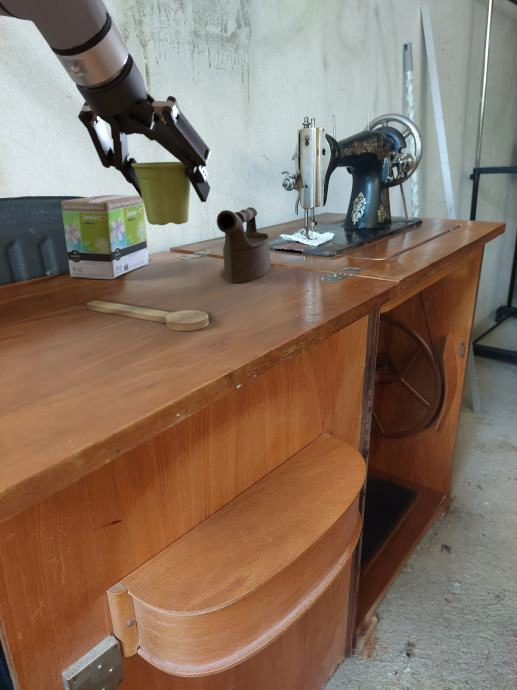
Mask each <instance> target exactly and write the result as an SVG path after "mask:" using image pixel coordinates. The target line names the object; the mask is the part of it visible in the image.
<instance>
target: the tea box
mask: <svg viewBox="0 0 517 690" xmlns="http://www.w3.org/2000/svg"><path fill="white" fill-rule="evenodd" d="M60 204H61V213H62V221H63V229H64V237H65V245H66V252H67V258H68V259H67V261H68V267H69V275H70V277H71V278H80V279H97V280H114V279H116V278H117V277H120V276H121V275H124V274H125V273H129V272H131V271H134V270H136V269H138V268H141V267H144V266H146V265H148V264H149V251H148V237H147V229H146V228H147V227H146V226H147V225H146V218H145V216H146V214H145V207H144V203H143V199H142V198H141V197H140V195H139V194H137V195H136V194H135V195H134V194H101V195H95V196H94V195H93V196H87V197H80V198H74V199H66V200H61V201H60Z"/></svg>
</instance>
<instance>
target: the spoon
mask: <svg viewBox="0 0 517 690" xmlns="http://www.w3.org/2000/svg"><path fill="white" fill-rule="evenodd" d="M85 305H86V310H89V311H94V312H100V313H106V314H111V315H117V316H122V317H127V318H133V319H140V320H144V321H145V320H146V321H149V322H150V321H151V322H157V323H162V324H165V325H166V328H167V329H168V330H172V331H175V332H192V331H198V330H201V329H204V328H206V327H208V325H209V324H210V322H209V321H210V320H209V313H207V312H206V311H204V310H198V309H197V310H195V309H187V310H178V311H174V312H172V311H167V310H159V309H154V308H147V307H142V306H141V307H140V306H135V305H129V304H124V303H123V304H122V303H116V302H112V301H111V302H110V301H103V300H98V299H95V300H92V301H90V302H86V303H85Z"/></svg>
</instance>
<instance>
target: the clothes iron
mask: <svg viewBox="0 0 517 690" xmlns="http://www.w3.org/2000/svg"><path fill="white" fill-rule="evenodd" d="M257 215H258V211H257V209H256V208H254V207H251V206H249V207H247V208H244V209H241V210H239V211H235V212H233V211H231V210H228V209H225V210H224V209H223V210H221V211H220V212H219V213H218V214H217V217H216V225H217V228H218V229H219V231H220V232H222V233H224V245H223V247H222V255H223V269H224V272H223V273H224V280H225V281H227V282H228V283H231V284H238V283H245V282H248V281H252V280H256V279H258V278H260V277H262V276H264V275H266V274H267V273H268V272H269V271H270V270H271V250H270V249H271V248H270V247H271V246H270V235H269V234H268V233H264V232H258V230H257V222H256V221H257V220H256V217H257ZM244 223H246V224H245V226H246V227H245V226H244Z"/></svg>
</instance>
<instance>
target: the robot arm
mask: <svg viewBox="0 0 517 690" xmlns="http://www.w3.org/2000/svg"><path fill="white" fill-rule="evenodd" d="M0 17H6V18H7V17H8V18H14V19H17V20H22V21H29V22H32V24H33V25H34V26H35V27H36V29H37V30H38V32H39V33H40V35H41V37H43V39H44V41H45V42H46V44H47V45H48V47H49V48H50V49H51V51H52V52H53V53H54V55H55V57H56V58H57V61H59V62H60V64H61V66H62V67H63V69H64V70H65V73H67V74H68V76H69V78H70V79H71V81H72V82H73V83H75V87H76V89H77V91H78V92H79V93H80V95H81V96H82V98H83V100H84V103H83V105H82V107H81V108H80V110H79V114H78V116H77V118H78V120H79V121H80V122H81V123H82V124H83V126H84V127H85V128H86V130H87V133H88V135H89V137H90V140H91V141H92V144H93V146H94V149H95V151H96V153H97V156H98V158H99V161H100V163H101V165H102V166H103V167H104V168H106V169H110V168H111V167H113V168H114V169H115V170H116V171H118V172H120V173H121V175H122V176H123V177H124V179H125V180H126V182H127V183H128V184H131V185H132V187H133V188H134V189H135V191H136V192H137V193H138V194H137V195H138V196H140V197H141V198H142V194H141V189H140V185H139V181H138V178H137V177H136V174H135V170H134V167H132V166H131V164H134V163H138V162H137V160H136V159H135V157H129V156H130V152H129V149H128V147H129V145H128V136H131V135H134V134H137V135H143V136H144V137H146V138H147V139H148V140H149V141H152V142H153V141H155V142H156V143H158V145H160V146H161V147H162V148H163V149H165V150H166V151H167V152H168V153H169V154H170V155H172V156H173V157H174V158H175V159H177V161H178V162H182V163H183V164H184V165H185V166H186V167H187V168H186V171H185V173H186V174H187V176H188V178H189V180H190V182H191V185H192V188H193V189H194V191H195V194H196V195H197V196H198V199H199V200H200V202H201V203H206V202H207V199H208V197H209V194H210V190H211V186H210V184H209V182H208V179H207V178H208V176H209V175H208V174H209V173H208V171H207V170H206V166H207V164H208V161H209V159H210V156H211V153H212V151H211V148H210V147H209V146H208V144H207V143H206V142H205V141H204V140H203V138H202V136H201V135H200V134H199V133H198V132H197V130H196V129H195V128H194V126H193V125H192V124H191V123H190V122H189V120H188V119H187V117H186V116H185V115H184V114H183V112H182V111H181V109H180V106H179V103H178V101H177V99H176V97H175V96H172V95H169V96H167V98H166V100H155V98H154V97H152V95H151V94H150V93H149V92H148V91H147V88H146V84H145V81H144V78H143V76H142V74H141V72H140V69H139V67H138V65H137V64H136V62H135V60H134V58H133V56H132V55H131V54H130V53H129V49H128V45H127V44H126V42H125V40H124V39H123V36H122V35H121V33H120V31H119V29H118V27H117V26H116V24H115V22H114V20H113V18H112V16H111V15H110V12H109V11H108V9H107V6H106V5H105V3H104V0H0ZM105 123H106V124H108V125H109V127H110V136H109V133H108V131H107V128H106V126H105ZM151 127H152V128H151ZM110 137H111V139H112V141H111V139H110ZM128 158H129V159H128ZM142 199H143V198H142Z"/></svg>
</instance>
